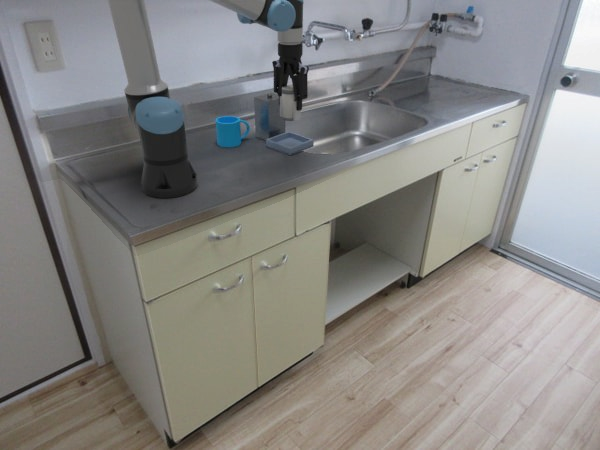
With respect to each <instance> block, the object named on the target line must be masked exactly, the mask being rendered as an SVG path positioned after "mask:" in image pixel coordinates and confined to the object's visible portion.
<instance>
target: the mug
mask: <svg viewBox="0 0 600 450" xmlns="http://www.w3.org/2000/svg"><path fill="white" fill-rule="evenodd" d="M241 123H243V124H244V125H245V126H246V131H245V132H244V133H243V135H242V133H241V132H242V130H241ZM250 129H251V128H250V124H249V123H248V122H247V121H246V120H243V119H241V118H239V117H238V116H234V115H224V116H219V117H216V118H215V130H216V141H217V142H216V143H217V145H218V146H219V147H222V148H234V147H239V146H241V144H242V139H244V138H246V137H247V135H249V133H250Z"/></svg>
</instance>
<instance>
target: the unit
mask: <svg viewBox="0 0 600 450" xmlns="http://www.w3.org/2000/svg"><path fill="white" fill-rule="evenodd" d="M253 103H254V104H253V105H254V106H253V107H254V123H255V124H254V127H255V128H254V129H255V130H254V131H255V134H254V135H255V137H256V138H258V139H261V140H264V141H266V139H269V138H272V137H274V136H277V135H280V134H283V133H286V121H285V120H283V119H282V117H281V116H280V105H279V96H278V94H277V93H275V92H269V93H265V94H261V95H257V96H254V97H253Z"/></svg>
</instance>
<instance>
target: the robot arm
mask: <svg viewBox="0 0 600 450" xmlns="http://www.w3.org/2000/svg"><path fill="white" fill-rule="evenodd" d="M209 1H210V2H212V3H215V4H217V5H219V6H221V7H223V8H225V9H227V10H230V11H232V12H234V13H236V16H237V19H238V21H239V22H240V23H241V24H244V25H245V24H249V25H252V24H258V25H259V26H262V27H265V28H269V29H271V30H273V31H275V32H277V42H278V43H277V55H278V57H279V58H278V59H277V60H272V67H273V93H274V94H278V96H279V105H280V116H281V117H282V87H283V86H288V82H289V78H290V79H291V82H292V84H291V85H292V86H293V89H294V95H295V99H294V100H293V120H294V121H293V122H295V121H299V120H301V118H302V117H301V116H302V115H301V113H302V110H303V100H306V99H308V73H309V70H310V67H309V66H305V65H303V63H302V59H301V58H302V57H303V52H304V51H303V43H302V42H303V40H304V39H303V27H304V23H303V21H304V18H303V16H304V14H303V13H304V0H209ZM107 2H108V6H109V10H110V14H111V19H112V22H113V26H114V31H115V34H116V39H117V43H118V47H119V51H120V55H121V58H122V63H123V66H124V71H125V75H126V79H127V83H128V84H127V85H126V87H125V88H124V89H123V91H124V94H125V100H126V102H127V103H126V104H127V114H128V117H129V119H130V121H131V123H132V124H133V125H134V128H135V129H136V131H137V133H138V137H139V141H140V145H141V152H142V156H143V157H142V158H143V163H144V164H143V168H142V173H141V178H140V179H141V180H140V185H141V189H142V192H143V193H144V194H145V195H147V196H149V197H153V198H157V199H158V198H159V199H160V198H161V199H172V198H177V197H181V196H184V195H187V194H190V193H192V192H193V191H195V189H196V188H197V187H198V184H199V181H198V176H197V172H196V170H195V169H194V167H193V165H192V163H191V160H190V158H189V152H188V145H187V135H186V128H185V115H184V114H185V113H184V112H183V108H182V105H181V103H180V102H179V101H177V100H175V99H173V98H171V96H170V95H171V94H170V91H169V86H168V84H167V83H166V82H165V81H163V80H162V79H161V75H160V70H159V65H158V62H157V55H156V50H155V46H154V42H153V40H154V39H153V36H152V31H151V27H150V22H149V17H148V12H147V11H148V10H147V8H146V2H145V0H107Z"/></svg>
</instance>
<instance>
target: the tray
mask: <svg viewBox="0 0 600 450" xmlns="http://www.w3.org/2000/svg"><path fill="white" fill-rule="evenodd" d="M314 143H315V142H314V139H312V138H309V137H307V136H304V135H301V134H299V133H295V132H293V131H290V130H288V131H285V133H283V134H280V135H277V136H274V137H272V138H269V139H266V140H265V147H267V148H269V149H271V150H274V151H277V152H280V153H282V154H284V155H288V156H293V155H296V154H298V153H300V152H303V151H305V150H308V149H310V148H313V147H314Z"/></svg>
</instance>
